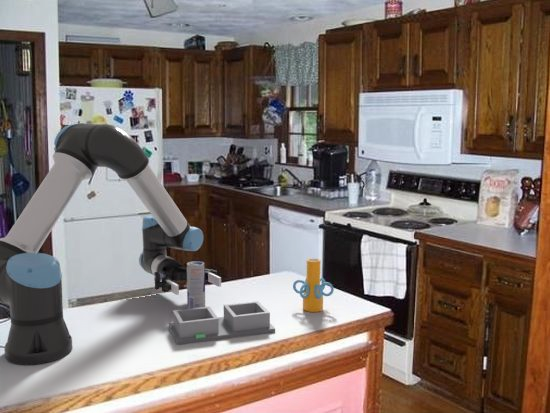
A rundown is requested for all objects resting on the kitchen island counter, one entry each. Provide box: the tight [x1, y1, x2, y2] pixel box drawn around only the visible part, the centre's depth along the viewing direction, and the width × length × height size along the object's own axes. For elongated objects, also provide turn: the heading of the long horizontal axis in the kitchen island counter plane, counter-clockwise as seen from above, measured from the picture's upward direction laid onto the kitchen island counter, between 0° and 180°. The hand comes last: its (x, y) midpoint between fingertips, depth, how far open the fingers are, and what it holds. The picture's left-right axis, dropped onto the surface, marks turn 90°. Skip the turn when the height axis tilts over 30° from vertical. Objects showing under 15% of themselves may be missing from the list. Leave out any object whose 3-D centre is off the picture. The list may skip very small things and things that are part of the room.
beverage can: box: [186, 260, 206, 309], centre depth 167 cm, size 5×5×15 cm
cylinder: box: [292, 257, 335, 313], centre depth 171 cm, size 12×10×15 cm
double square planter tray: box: [168, 300, 276, 346], centre depth 155 cm, size 26×13×5 cm, turn 110°
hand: (199, 286), depth 166 cm, fingers open, 13 cm apart
